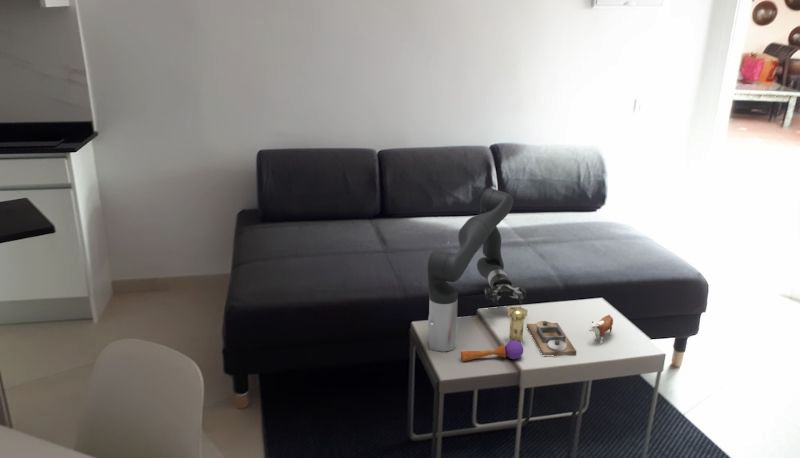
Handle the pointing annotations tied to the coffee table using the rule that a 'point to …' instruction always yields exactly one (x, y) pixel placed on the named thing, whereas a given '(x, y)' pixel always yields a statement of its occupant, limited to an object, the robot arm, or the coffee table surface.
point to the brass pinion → (516, 323)
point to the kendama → (496, 351)
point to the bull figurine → (602, 327)
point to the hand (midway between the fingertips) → (509, 301)
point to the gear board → (551, 339)
